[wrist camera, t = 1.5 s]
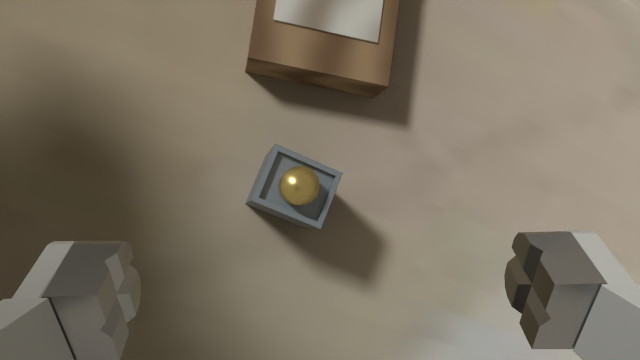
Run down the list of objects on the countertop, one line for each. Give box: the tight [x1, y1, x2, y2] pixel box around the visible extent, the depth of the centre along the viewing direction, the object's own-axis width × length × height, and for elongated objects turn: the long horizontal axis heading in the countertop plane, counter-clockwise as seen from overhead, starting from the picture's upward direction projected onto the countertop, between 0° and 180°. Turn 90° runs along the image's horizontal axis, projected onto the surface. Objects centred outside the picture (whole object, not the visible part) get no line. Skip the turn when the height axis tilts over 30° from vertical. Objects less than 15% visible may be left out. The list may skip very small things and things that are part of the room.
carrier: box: [245, 144, 343, 229], centre depth 40 cm, size 6×4×8 cm
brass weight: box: [278, 166, 320, 206], centre depth 36 cm, size 3×3×2 cm
